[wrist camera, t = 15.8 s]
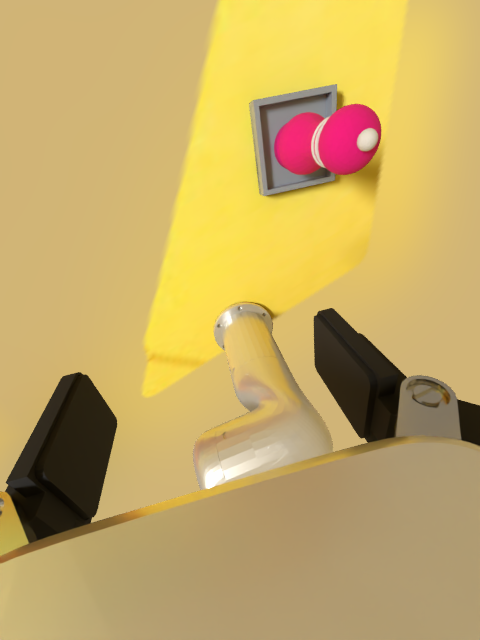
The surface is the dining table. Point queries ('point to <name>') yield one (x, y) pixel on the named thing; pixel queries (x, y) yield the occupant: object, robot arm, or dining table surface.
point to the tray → (266, 125)
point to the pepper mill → (329, 141)
